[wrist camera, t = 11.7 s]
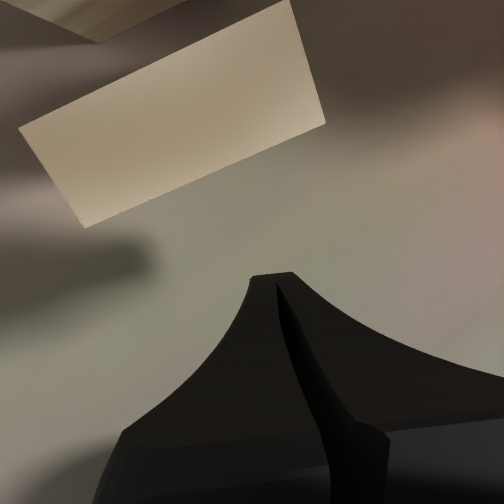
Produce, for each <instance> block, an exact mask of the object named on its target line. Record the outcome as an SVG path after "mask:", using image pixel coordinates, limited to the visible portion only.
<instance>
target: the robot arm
mask: <svg viewBox="0 0 504 504" xmlns="http://www.w3.org/2000/svg"><path fill="white" fill-rule="evenodd" d="M92 504H504V377H500V376H496V375H493V374H489V373H485V372H482V371H478V370H474V369H471V368H467V367H464V366H461V365H458V364H455V363H452V362H449V361H446V360H443V359H440V358H437V357H434V356H432V355H429V354H426V353H424V352H421V351H419V350H416V349H413V348H411V347H409V346H406V345H404V344H402V343H400V342H397V341H395V340H393V339H390V338H388V337H386V336H384V335H382V334H380V333H378V332H376V331H374V330H372V329H371V328H369V327H367V326H365V325H363V324H361V323H360V322H358V321H356V320H355V319H353V318H351V317H350V316H348V315H347V314H345V313H344V312H342V311H341V310H339V309H338V308H336V307H335V306H333V305H332V304H330V303H329V302H328V301H326V300H325V299H324V298H323V297H321V296H320V295H319V294H318V293H316V292H315V291H314V290H313V289H312V288H310V287H309V286H308V285H307V284H306V283H305V282H304V281H302V280H301V279H300V278H299V277H298V276H297V275H296V274H294V273H293V272H284V273H275V274H266V275H256V276H252V278H251V279H250V283H249V287H248V290H247V293H246V296H245V298H244V300H243V303H242V305H241V307H240V309H239V311H238V313H237V315H236V317H235V319H234V320H233V322H232V324H231V326H230V327H229V329H228V331H227V332H226V334H225V335H224V337H223V338H222V340H221V341H220V342H219V344H218V345H217V346H216V348H215V349H214V350H213V352H212V353H211V354H210V355H209V356H208V358H207V359H206V360H205V361H204V362H203V363H202V365H201V366H200V367H199V368H198V369H197V370H196V371H195V372H194V373H193V374H192V375H191V376H190V377H189V378H188V379H187V380H186V381H185V382H184V383H183V384H182V385H181V386H180V387H179V388H178V389H176V390H175V391H174V392H173V393H172V394H171V395H170V396H168V397H167V398H166V399H165V400H164V401H162V402H161V403H160V404H158V405H157V406H156V407H154V408H153V409H152V410H150V411H149V412H148V413H146V414H145V415H144V416H142V417H141V418H140V419H138V420H137V421H136V422H134V423H133V424H132V425H130V426H129V427H127V428H126V429H125V430H123V431H122V433H121V435H120V437H119V439H118V442H117V444H116V446H115V448H114V450H113V452H112V454H111V456H110V458H109V460H108V463H107V465H106V467H105V469H104V472H103V474H102V476H101V479H100V482H99V485H98V488H97V491H96V494H95V497H94V499H93V502H92Z"/></svg>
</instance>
